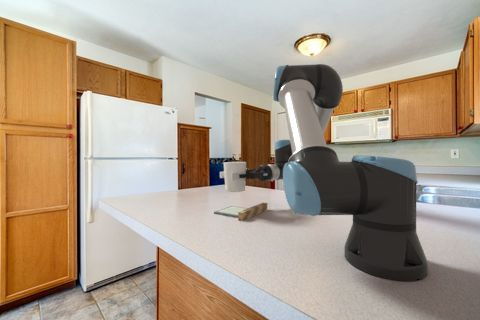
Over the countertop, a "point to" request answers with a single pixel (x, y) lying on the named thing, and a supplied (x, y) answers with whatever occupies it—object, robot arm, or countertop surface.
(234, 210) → the square tile
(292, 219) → the countertop surface
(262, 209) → the brown wooden bar
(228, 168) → the candle holder
